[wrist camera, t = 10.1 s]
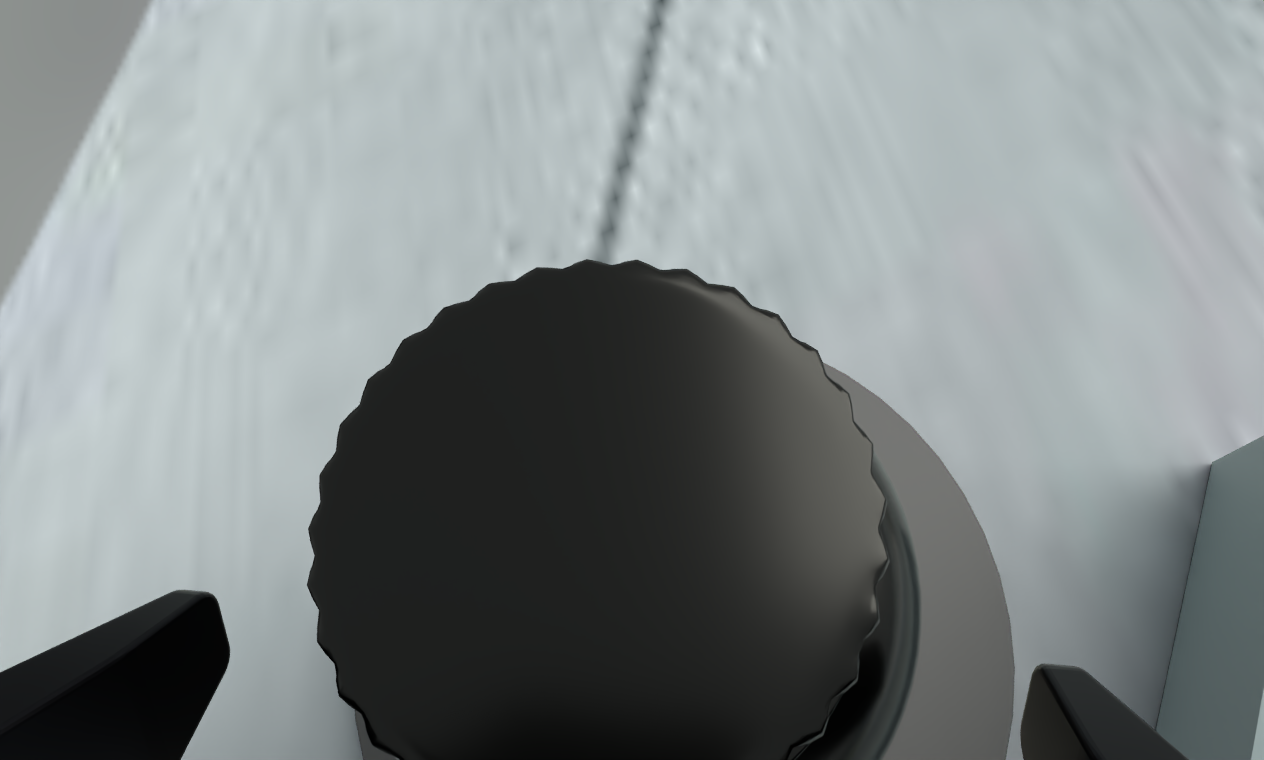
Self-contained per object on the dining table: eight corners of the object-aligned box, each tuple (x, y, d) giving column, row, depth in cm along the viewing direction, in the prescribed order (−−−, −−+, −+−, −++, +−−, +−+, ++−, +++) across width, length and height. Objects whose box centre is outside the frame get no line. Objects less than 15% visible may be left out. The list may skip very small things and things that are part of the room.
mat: (478, 1144, 16) (467, 1162, 15) (299, 476, 21) (285, 468, 20) (1149, 825, 16) (1167, 830, 16) (811, 253, 22) (813, 239, 21)
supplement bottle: (722, 896, 16) (695, 1330, 5) (452, 679, 18) (-4, 637, 7) (901, 590, 18) (1182, 394, 7) (634, 422, 20) (503, 51, 9)
